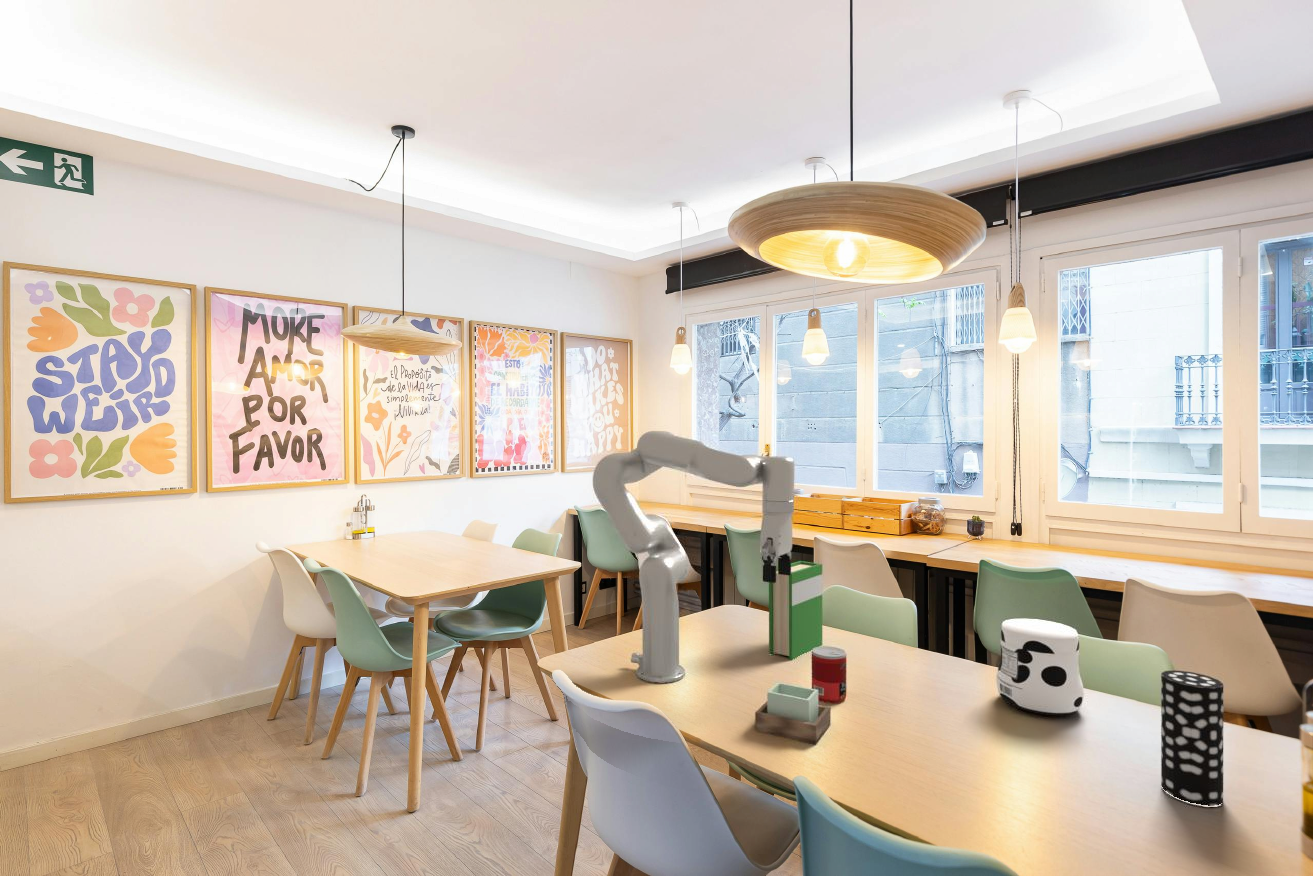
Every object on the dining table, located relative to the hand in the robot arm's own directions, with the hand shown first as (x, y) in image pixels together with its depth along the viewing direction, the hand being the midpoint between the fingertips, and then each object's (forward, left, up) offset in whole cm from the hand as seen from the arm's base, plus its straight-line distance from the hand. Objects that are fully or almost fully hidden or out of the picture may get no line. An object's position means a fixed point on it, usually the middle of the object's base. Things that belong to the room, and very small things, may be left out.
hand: (777, 578), depth 160 cm
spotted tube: (+78, -8, -28) cm, 83 cm away
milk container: (+55, +22, -28) cm, 65 cm away
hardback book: (-6, +33, -28) cm, 44 cm away
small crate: (+10, -17, -27) cm, 33 cm away
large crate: (+10, -17, -28) cm, 34 cm away
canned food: (+12, +3, -28) cm, 30 cm away
